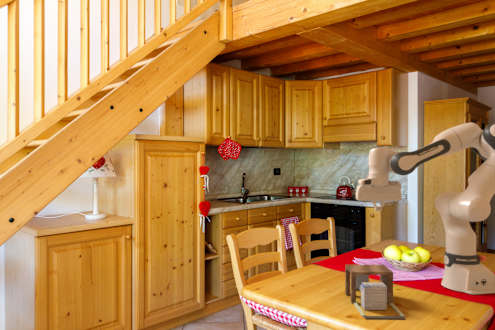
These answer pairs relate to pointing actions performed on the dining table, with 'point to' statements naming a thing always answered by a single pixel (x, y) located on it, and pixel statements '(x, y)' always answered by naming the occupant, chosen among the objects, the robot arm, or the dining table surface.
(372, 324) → the dining table surface
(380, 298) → the medicine box
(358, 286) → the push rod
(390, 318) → the dark grey bar
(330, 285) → the dining table surface
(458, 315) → the dining table surface
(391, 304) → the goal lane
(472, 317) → the dining table surface
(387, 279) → the tunnel
